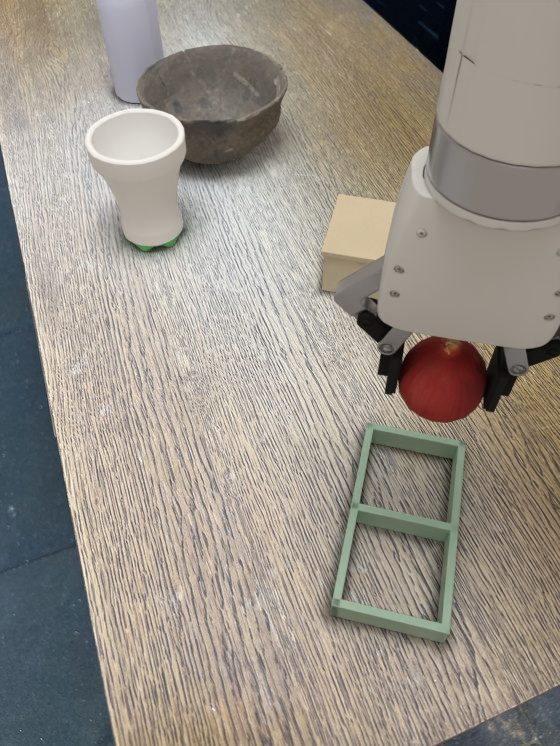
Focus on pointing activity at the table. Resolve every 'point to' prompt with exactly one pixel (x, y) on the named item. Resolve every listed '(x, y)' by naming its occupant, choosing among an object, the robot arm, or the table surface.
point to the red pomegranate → (442, 379)
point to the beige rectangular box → (354, 237)
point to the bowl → (217, 98)
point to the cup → (141, 171)
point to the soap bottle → (130, 41)
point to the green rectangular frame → (409, 526)
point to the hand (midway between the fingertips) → (440, 385)
